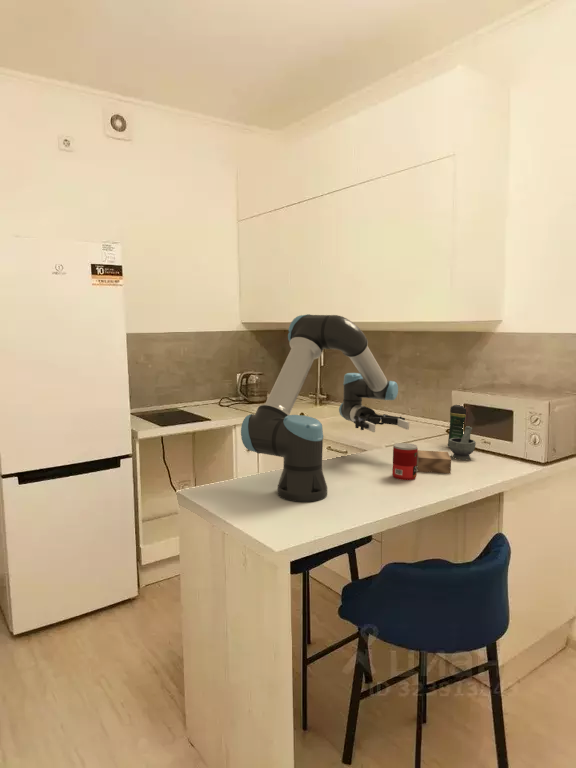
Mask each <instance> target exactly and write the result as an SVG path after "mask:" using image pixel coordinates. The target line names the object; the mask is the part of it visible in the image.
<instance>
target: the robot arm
mask: <svg viewBox="0 0 576 768" xmlns="http://www.w3.org/2000/svg"><path fill="white" fill-rule="evenodd" d="M287 339H288V342H289V347H290V350H289V353H288V355H287V357H286V359H285V361H284V363H283V365H282V367H281V370H280V372H279V374H278V376H277V378H276V380H275V383H274V385H273V387H272V388H271V391H270V393H269V396H268V397H267V399H266V401H265V403H263V404H260V405H259V406H258V408H257V409H256V411H255V413H253V414H252V413H250V414H249V415H246V416H245V417H244V418H243V420H242V423H241V427H240V435H241V436H240V437H241V441H242V445H243V446H244V448H246V450H248V451H250V452H254V453H257V454H264V455H267V456H268V455H269V456H275V457H280V458H283V469H282V471H281V475H280V477H279V478H280V479H279V480H278V484H277V489H276V491H277V492H276V494H277V495H278V497H280V498H281V499H284V500H285V501H286V500H287V501H291V502H298V503H300V502H301V503H306V502H307V503H309V502H316V501H320V500H323V499H325V498H326V497H327V496H328V485H327V482H326V478H325V475H324V472H323V447H324V444H323V443H324V432H323V431H324V430H323V424H322V423H321V421H320V420H318V419H317V418H314V417H312V416H308V415H299V414H291V412H292V410H293V408H294V406H295V403H296V401H297V398H298V396H299V394H300V392H301V390H302V387H303V385H304V383H305V381H306V378H307V376H308V373H309V372H310V369H311V367H312V365H313V363H314V360H317V359H319V358H320V357H321V356H322V353H323V351H324V350H336V351H340V352H342V354H343V356H346V357H348V358H349V359H350V361H351V362H352V364H353V365H354V367H355V368H356V370H357V371H358V372H347V373H345V374H344V376H343V384H342V385H343V393H342V394H343V395H342V396H343V398H342V399H343V401H342V402H341V404H340V405H339V408H338V412H339V415H340V416H341V417H342V418H343V419H345V420H346V421H349V422H352V423H353V424H355V425H354V427H355V429H359V427H360V431H364V430H368V431H369V432H372V433H376V425H380V426H381V425H393V426H397V427H398V428H402V429H405V430H407V431H408V430H410V421H407V420H406V418H405V417H402V416H396V415H395V416H394V415H390V414H389V415H388V414H386V413H385V414H384V413H383V414H378V413H376V412H375V410H374V409H373V408H370V407H369V406H366V405H362V404H363V399H372V400H382V401H395V400H396V398H397V397H398V394H399V386H398V383H397V382H396V381H394V380H388V378H387V377H386V376H385V373H384V372H383V370H382V368H381V367H380V365H379V363H378V362H377V360H376V358H375V356H374V355H373V353H372V351H371V349H370V348H369V346H368V345H369V344H368V343H369V341H368V338H367V336H366V334H365V333H364V332H363V331H362V329H360V327H359V326H358V325H356V324H355V322H353V321H351V320H350V319H348V318H347V317H344V316H343V315H342V316H341V315H338V314H331V315H330V314H307V313H306V314H303V315H302V314H301V315H297V316H296V317H295V318H293V319H292V321H291V322H290V324H289V326H288V334H287Z"/></svg>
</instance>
